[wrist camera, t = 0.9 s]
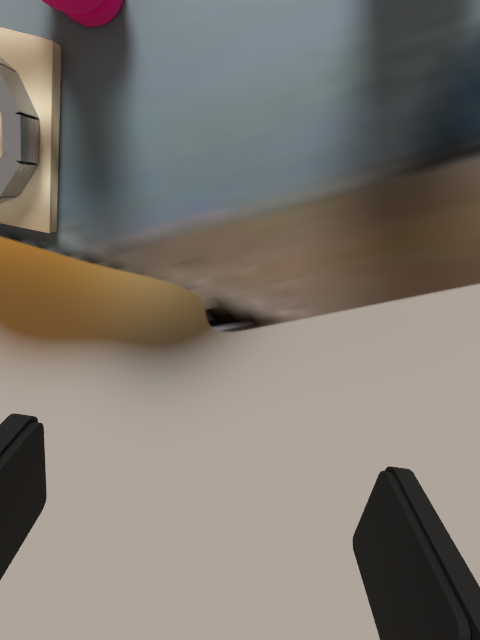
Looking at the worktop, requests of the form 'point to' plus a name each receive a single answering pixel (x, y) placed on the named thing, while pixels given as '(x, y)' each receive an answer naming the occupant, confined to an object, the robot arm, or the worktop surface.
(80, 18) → the pepper mill
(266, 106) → the worktop surface
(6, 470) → the robot arm
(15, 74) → the steel ring collar
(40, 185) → the birch board
